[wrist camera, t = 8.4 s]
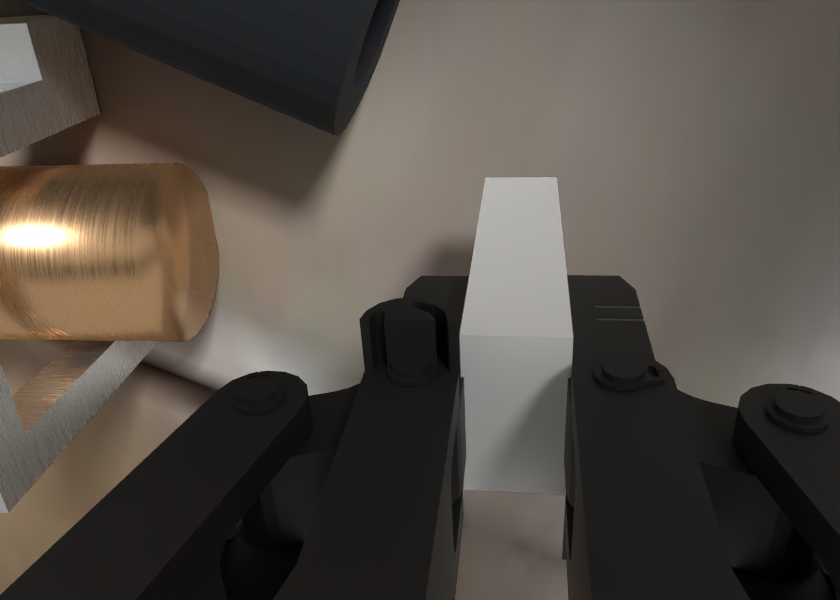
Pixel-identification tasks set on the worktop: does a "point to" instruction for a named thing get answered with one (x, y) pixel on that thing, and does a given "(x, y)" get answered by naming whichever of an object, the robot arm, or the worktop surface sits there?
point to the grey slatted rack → (82, 359)
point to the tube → (105, 252)
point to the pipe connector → (253, 46)
